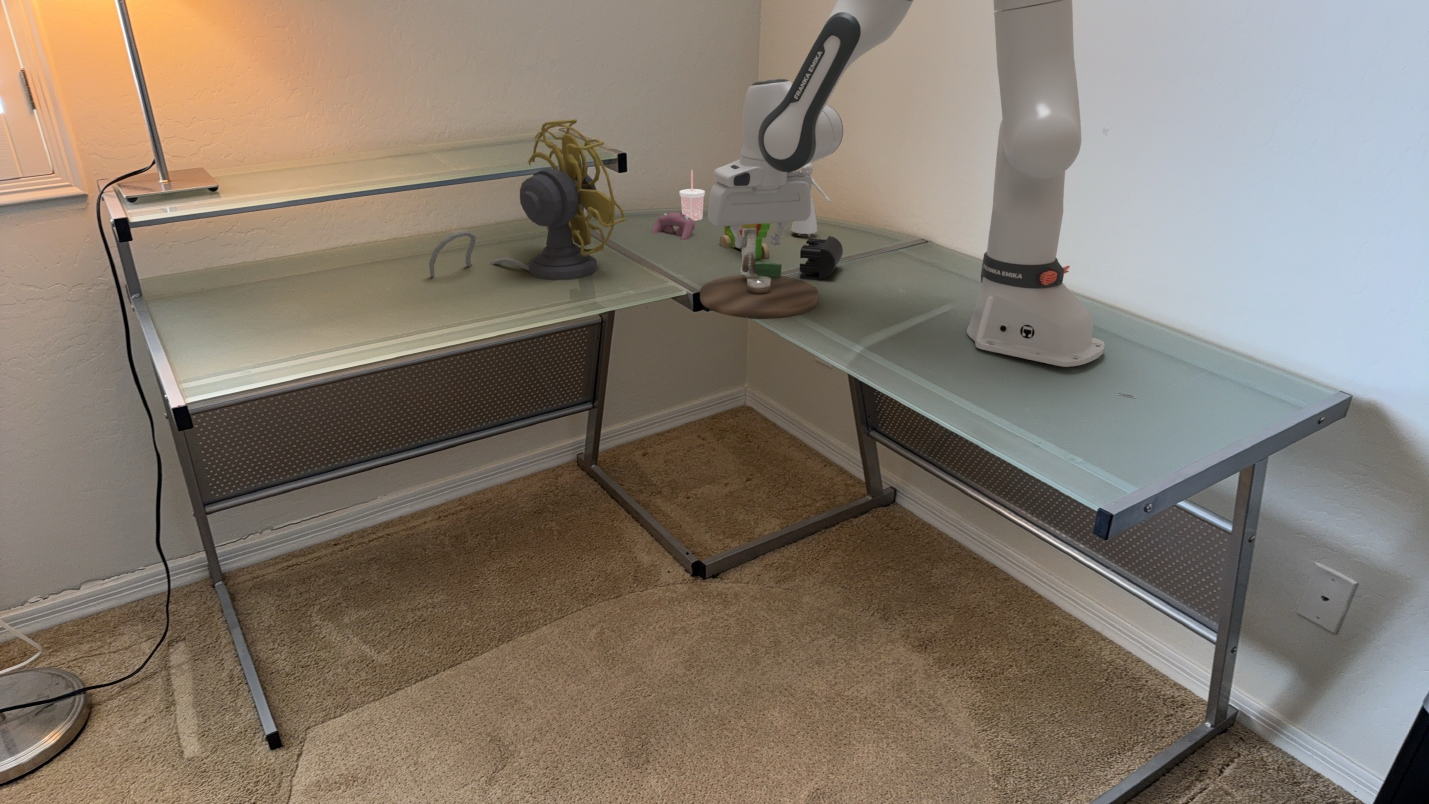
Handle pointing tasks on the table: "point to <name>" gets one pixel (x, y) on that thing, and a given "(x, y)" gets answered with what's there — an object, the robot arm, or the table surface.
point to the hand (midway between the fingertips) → (757, 245)
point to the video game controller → (674, 224)
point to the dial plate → (759, 295)
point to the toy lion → (761, 232)
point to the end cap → (820, 258)
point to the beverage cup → (692, 202)
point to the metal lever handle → (752, 264)
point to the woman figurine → (811, 223)
